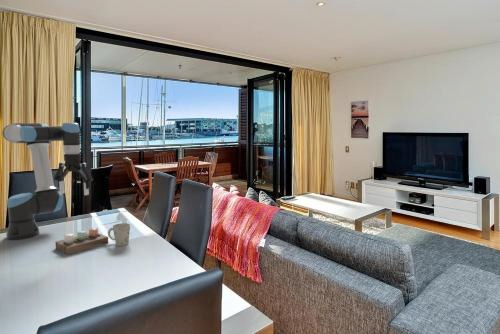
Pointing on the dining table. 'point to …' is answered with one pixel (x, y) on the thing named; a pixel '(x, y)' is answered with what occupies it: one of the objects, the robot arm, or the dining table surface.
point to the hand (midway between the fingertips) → (74, 194)
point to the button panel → (81, 244)
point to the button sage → (81, 235)
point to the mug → (120, 233)
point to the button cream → (69, 238)
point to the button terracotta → (93, 232)
